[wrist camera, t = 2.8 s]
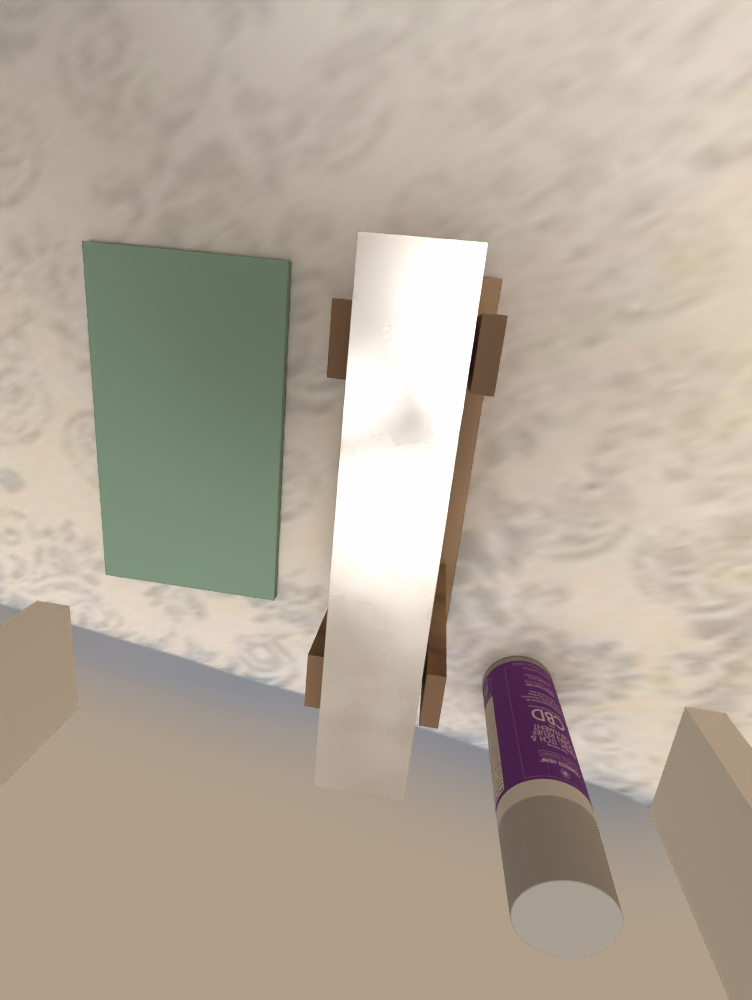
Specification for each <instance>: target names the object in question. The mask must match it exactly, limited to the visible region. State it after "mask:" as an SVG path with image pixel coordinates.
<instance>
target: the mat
mask: <svg viewBox="0 0 752 1000" xmlns="http://www.w3.org/2000/svg"><path fill="white" fill-rule="evenodd" d="M82 248H83V262H84V276H85V290H86V304H87V318H88V332H89V346H90V361H91V375H92V389H93V403H94V417H95V431H96V445H97V459H98V473H99V488H100V502H101V516H102V530H103V544H104V558H105V572H106V575H111V576H118V577H124V578H131V579H137V580H144V581H150V582H157V583H163V584H170V585H176V586H182V587H189V588H195V589H202V590H208V591H215V592H221V593H228V594H234V595H241V596H247V597H254V598H260V599H267V600H273V601H274V599H275V598H276V596H277V573H278V550H279V528H280V505H281V482H282V459H283V437H284V414H285V391H286V369H287V346H288V323H289V300H290V278H291V262H290V261H288V260H277V259H267V258H256V257H246V256H235V255H225V254H214V253H203V252H193V251H182V250H172V249H161V248H151V247H140V246H129V245H119V244H108V243H98V242H87V241H82Z"/></svg>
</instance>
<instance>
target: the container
mask: <svg viewBox="0 0 752 1000" xmlns="http://www.w3.org/2000/svg"><path fill="white" fill-rule="evenodd" d="M483 698H484V707H485V716H486V726H487V735H488V745H489V754H490V763H491V773H492V782H493V792H494V801H495V810H496V818H497V825H498V832H499V839H500V847H501V854H502V861H503V869H504V876H505V883H506V890H507V897H508V905H509V912H510V920H511V924H512V927H513V929H514V931H515V932H516V934H517V936H519V938H520V939H521V940H522V941H523V942H524V943H525V944H527V945H528V946H529V947H531V948H533V949H534V950H536V951H539V952H541V953H543V954H546V955H549V956H553V957H558V958H567V959H575V958H576V959H577V958H585V957H589V956H593V955H596V954H599V953H601V952H603V951H605V950H606V949H608V948H609V947H611V946H612V945H613V944H614V943H615V942H616V940H617V939H618V938H619V936H620V935H621V932H622V929H623V915H622V911H621V908H620V905H619V901H618V897H617V894H616V890H615V887H614V883H613V880H612V876H611V873H610V869H609V865H608V862H607V858H606V855H605V851H604V848H603V844H602V841H601V837H600V833H599V830H598V827H597V823H596V819H595V816H594V812H593V808H592V805H591V801H590V799H589V795H588V792H587V789H586V785H585V782H584V779H583V776H582V773H581V770H580V766H579V763H578V760H577V757H576V754H575V751H574V747H573V744H572V741H571V738H570V735H569V731H568V728H567V725H566V722H565V719H564V716H563V712H562V709H561V706H560V703H559V700H558V697H557V693H556V690H555V687H554V684H553V681H552V678H551V676H550V674H549V672H548V671H547V669H546V668H545V667H544V666H543V665H541V664H540V663H539V662H537V661H535V660H533V659H530V658H526V657H519V656H515V657H508V658H504V659H502V660H499V661H498V662H496V663H494V664H493V665H492V666H491V667H490V668H489V669H488V670H487V672H486V673H485V676H484V678H483Z"/></svg>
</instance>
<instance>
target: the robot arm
mask: <svg viewBox="0 0 752 1000" xmlns="http://www.w3.org/2000/svg"><path fill="white" fill-rule="evenodd" d="M75 675H76V674H75V664H74V652H73V641H72V630H71V619H70V608H69V606H66V605H60V604H54V603H48V602H42V601H36V602H35V603H33V604H31V605H30V606H28V607H27V608H25V609H24V610H22V611H21V612H19V613H17V614H16V615H14V616H13V617H11V618H10V619H8V620H6V621H5V622H3V623H2V624H0V787H1V786H2V785H3V784H4V783H5V782H6V781H7V780H8V779H9V778H10V777H11V776H12V775H13V774H14V773H15V772H16V771H17V770H18V769H19V768H20V767H21V765H23V764H24V763H25V762H26V761H27V760H28V759H29V757H31V756H32V755H33V754H34V753H35V752H36V751H37V749H39V748H40V747H41V746H42V745H43V744H44V743H45V742H46V740H48V739H49V738H50V737H51V736H52V735H53V734H54V733H55V732H56V731H57V730H58V729H59V728H60V727H61V726H62V725H63V724H64V723H65V722H66V721H67V719H69V718H70V717H71V716H72V715H73V714H74V712H76V710H77V709H78V698H77V697H78V696H77V686H76V676H75ZM649 813H650V816H651V818H652V820H653V823H654V825H655V827H656V829H657V832H658V834H659V837H660V839H661V841H662V844H663V846H664V848H665V851H666V853H667V855H668V858H669V860H670V862H671V864H672V867H673V869H674V871H675V874H676V876H677V879H678V881H679V883H680V886H681V888H682V890H683V893H684V895H685V897H686V900H687V902H688V904H689V907H690V909H691V911H692V913H693V916H694V918H695V921H696V923H697V925H698V927H699V930H700V932H701V935H702V937H703V939H704V941H705V944H706V946H707V949H708V951H709V953H710V956H711V958H712V960H713V962H714V965H715V967H716V969H717V972H718V974H719V976H720V979H721V981H722V983H723V986H724V988H725V990H726V993H727V995H728V997H729V1000H752V748H751V746H750V745H749V744H748V742H747V741H746V740H745V738H744V737H743V736H742V734H741V733H740V732H739V730H738V729H737V728H736V726H735V725H734V724H733V722H732V721H731V720H730V718H729V717H728V716H727V714H726V713H721V712H715V711H709V710H703V709H696V708H690V707H685V709H684V712H683V715H682V718H681V721H680V724H679V726H678V729H677V732H676V735H675V738H674V741H673V744H672V747H671V750H670V753H669V756H668V759H667V762H666V765H665V768H664V770H663V773H662V776H661V779H660V782H659V785H658V788H657V791H656V794H655V797H654V800H653V803H652V806H651V809H650V812H649Z"/></svg>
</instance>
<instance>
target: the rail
mask: <svg viewBox="0 0 752 1000" xmlns="http://www.w3.org/2000/svg"><path fill="white" fill-rule="evenodd" d="M487 246H488V243H485V242H474V241H462V240H451V239H440V238H428V237H417V236H406V235H395V234H383V233H372V232H361V231H358V237H357V249H356V262H355V274H354V287H353V299H352V312H351V325H350V337H349V350H348V362H347V375H346V387H345V400H344V413H343V425H342V438H341V450H340V463H339V475H338V488H337V501H336V513H335V526H334V538H333V551H332V563H331V576H330V588H329V601H328V614H327V626H326V639H325V651H324V664H323V676H322V689H321V702H320V715H319V727H318V739H317V752H316V765H315V777H314V786H317V787H322V788H328V789H334V790H339V791H344V792H349V793H355V794H360V795H365V796H371V797H377V798H382V799H387V800H392V801H398V802H403V801H404V795H405V788H406V781H407V774H408V768H409V761H410V755H411V748H412V742H413V735H414V728H415V722H416V715H417V709H418V702H419V695H420V689H421V682H422V676H423V669H424V662H425V656H426V649H427V643H428V636H429V629H430V623H431V616H432V609H433V603H434V596H435V590H436V583H437V576H438V570H439V563H440V557H441V550H442V543H443V537H444V530H445V524H446V517H447V510H448V504H449V497H450V491H451V484H452V477H453V471H454V464H455V457H456V451H457V444H458V438H459V431H460V424H461V418H462V411H463V405H464V398H465V391H466V385H467V378H468V372H469V365H470V358H471V352H472V345H473V339H474V332H475V325H476V319H477V312H478V305H479V299H480V292H481V286H482V279H483V272H484V266H485V259H486V253H487Z"/></svg>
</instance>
